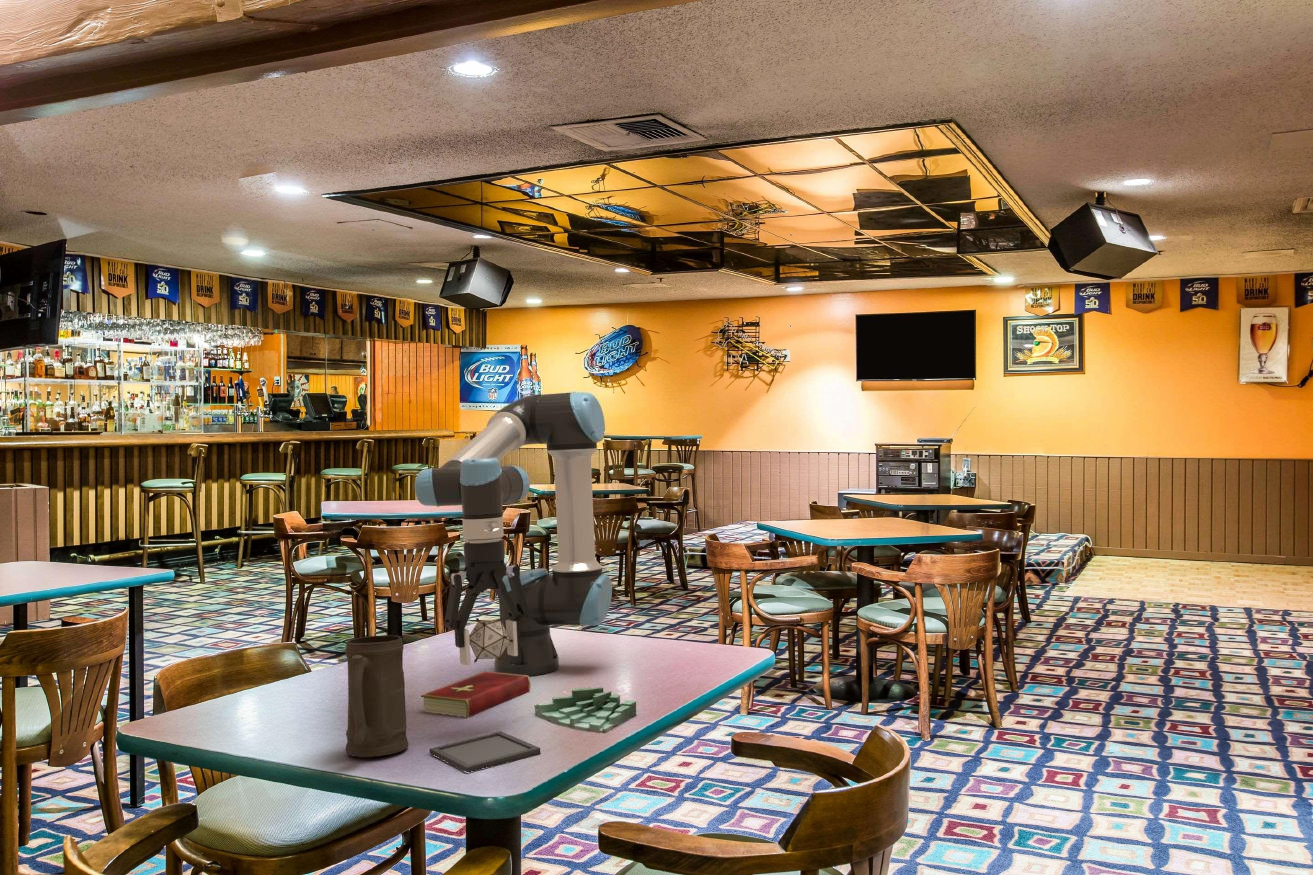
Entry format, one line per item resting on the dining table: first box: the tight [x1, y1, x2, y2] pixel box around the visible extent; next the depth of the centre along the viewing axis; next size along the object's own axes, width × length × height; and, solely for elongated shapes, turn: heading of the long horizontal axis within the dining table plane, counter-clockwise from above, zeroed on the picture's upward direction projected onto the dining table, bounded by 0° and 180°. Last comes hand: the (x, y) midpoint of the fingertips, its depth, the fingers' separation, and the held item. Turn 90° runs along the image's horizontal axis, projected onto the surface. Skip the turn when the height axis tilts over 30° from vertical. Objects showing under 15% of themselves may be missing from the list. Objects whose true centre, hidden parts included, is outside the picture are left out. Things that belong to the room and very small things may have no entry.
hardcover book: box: [420, 670, 531, 719], centre depth 208 cm, size 12×21×4 cm, turn 152°
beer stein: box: [344, 634, 409, 758], centre depth 175 cm, size 15×11×20 cm
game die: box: [469, 616, 513, 664], centre depth 187 cm, size 9×8×10 cm
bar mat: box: [429, 730, 541, 773], centre depth 173 cm, size 14×14×1 cm
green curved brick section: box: [534, 686, 637, 733], centre depth 194 cm, size 20×16×5 cm
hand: (489, 659), depth 187 cm, fingers closed on game die, 9 cm apart
